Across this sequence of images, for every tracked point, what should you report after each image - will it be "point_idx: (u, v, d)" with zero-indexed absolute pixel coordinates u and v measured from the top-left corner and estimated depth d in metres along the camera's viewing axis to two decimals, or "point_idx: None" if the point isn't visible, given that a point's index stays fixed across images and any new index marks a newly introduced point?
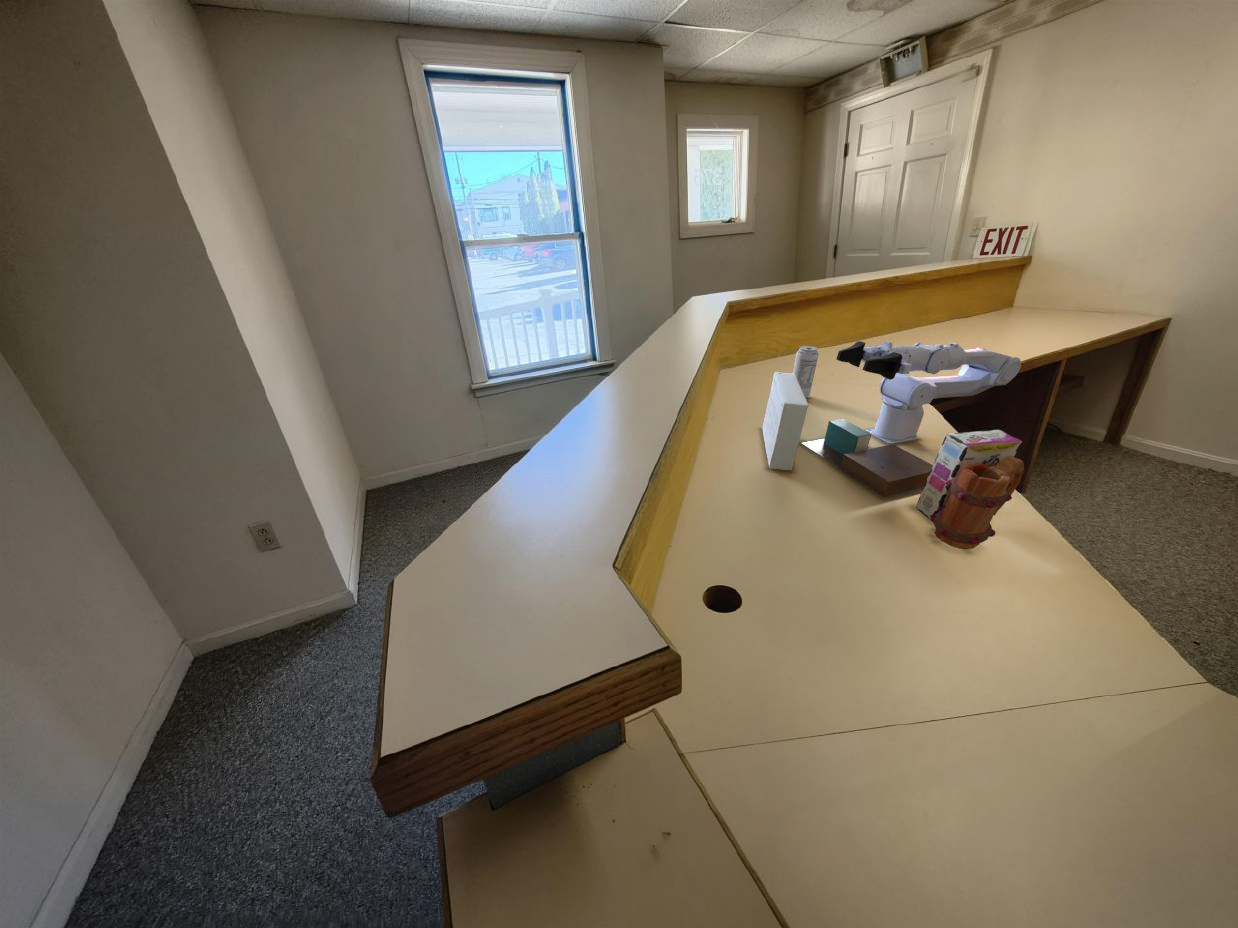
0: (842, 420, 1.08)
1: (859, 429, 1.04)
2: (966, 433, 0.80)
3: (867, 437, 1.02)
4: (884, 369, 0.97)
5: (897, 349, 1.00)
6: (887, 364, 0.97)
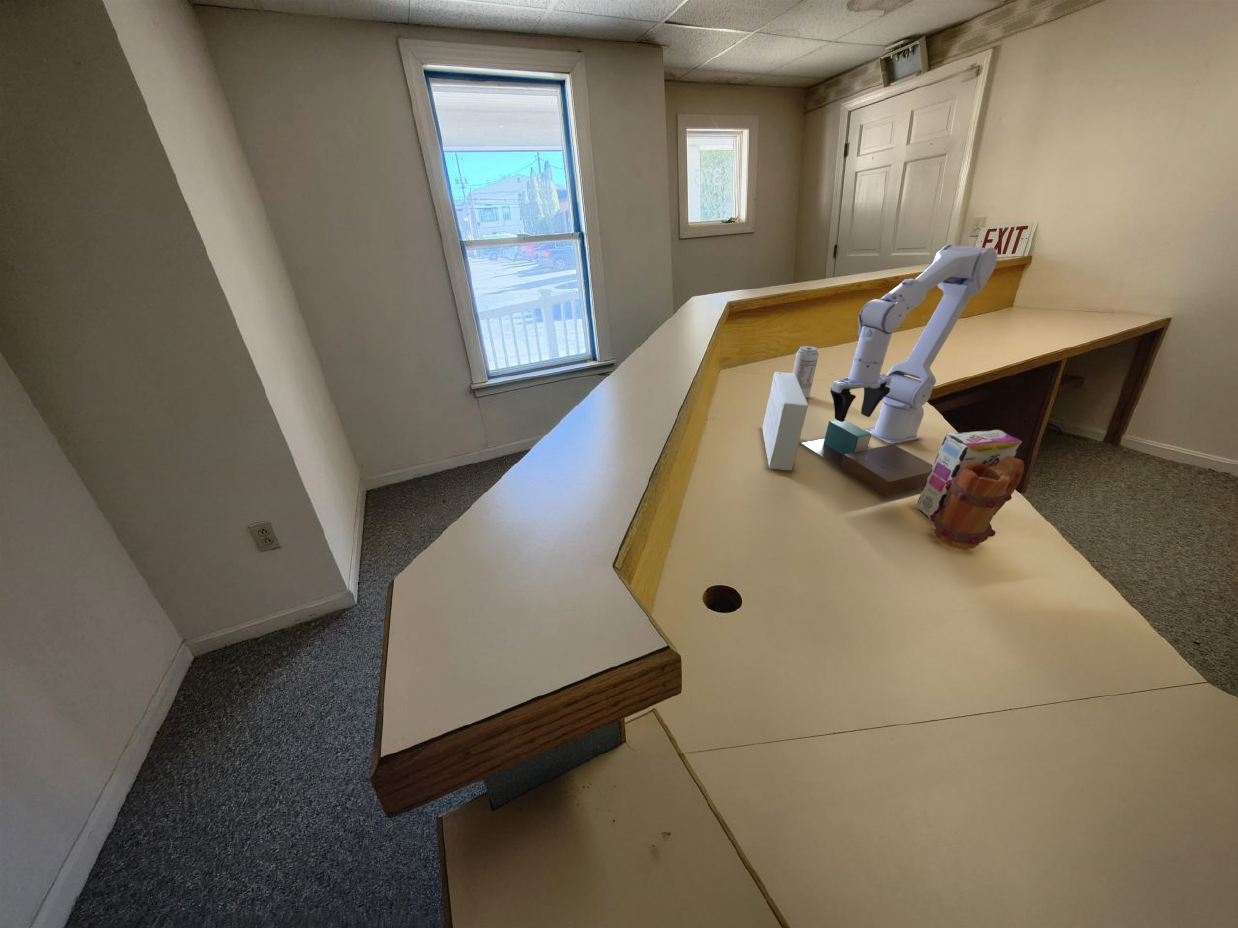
0: None
1: (859, 429, 1.04)
2: (966, 433, 0.80)
3: (867, 437, 1.02)
4: None
5: (879, 374, 0.96)
6: None
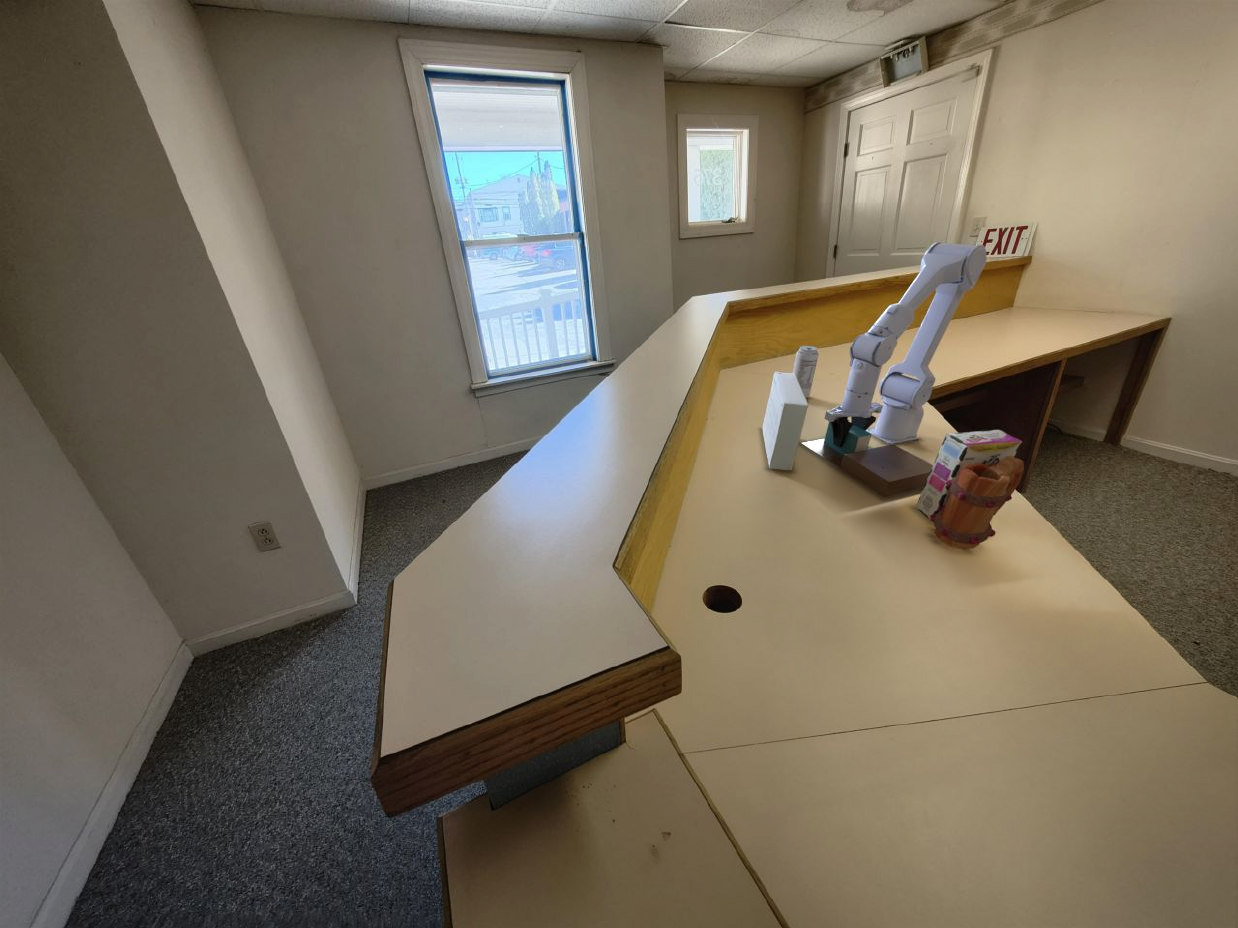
0: None
1: (859, 429, 1.04)
2: (966, 433, 0.80)
3: (867, 437, 1.02)
4: None
5: (870, 404, 1.00)
6: None
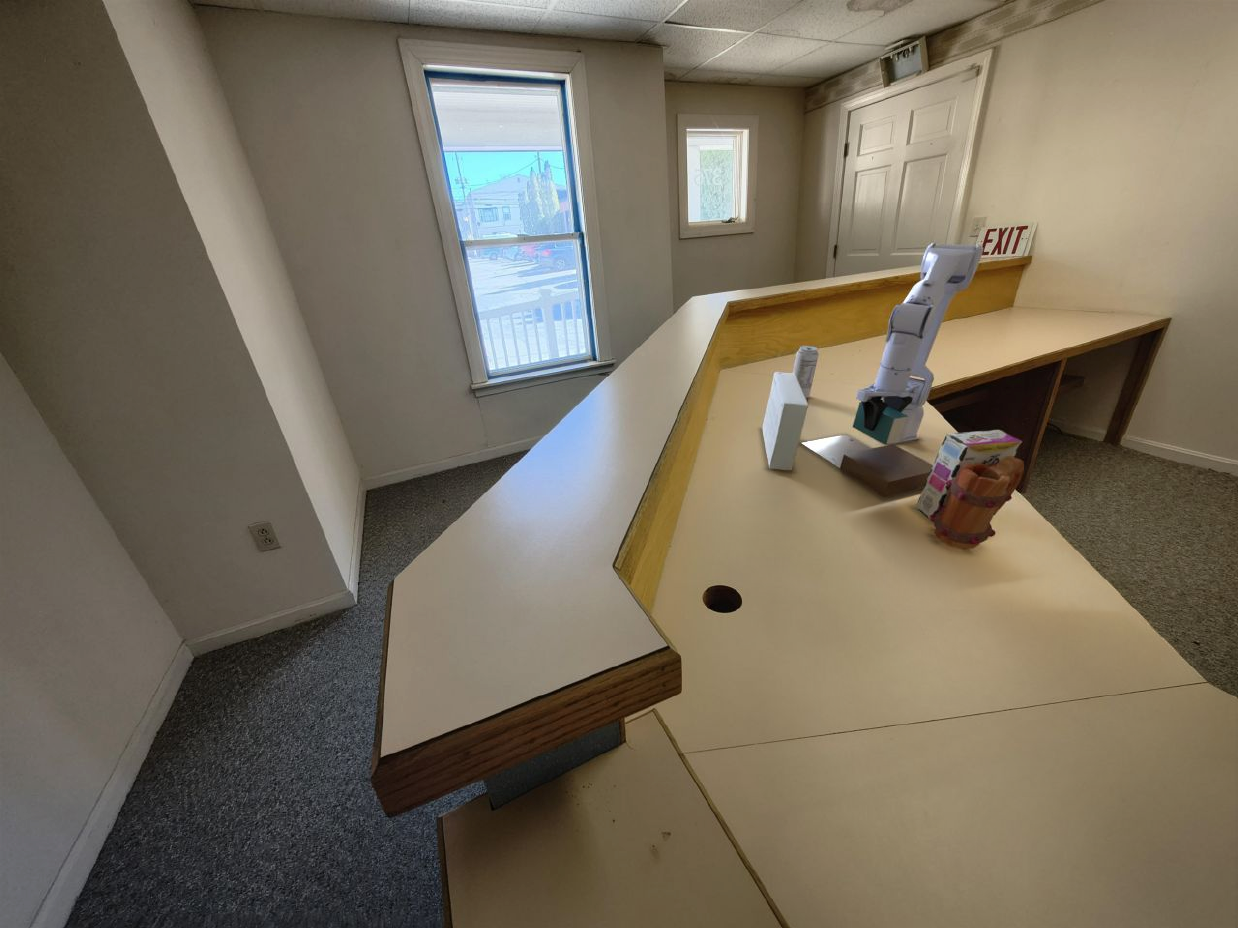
0: None
1: (894, 411, 0.94)
2: (966, 433, 0.80)
3: (903, 419, 0.92)
4: None
5: (907, 382, 0.90)
6: None
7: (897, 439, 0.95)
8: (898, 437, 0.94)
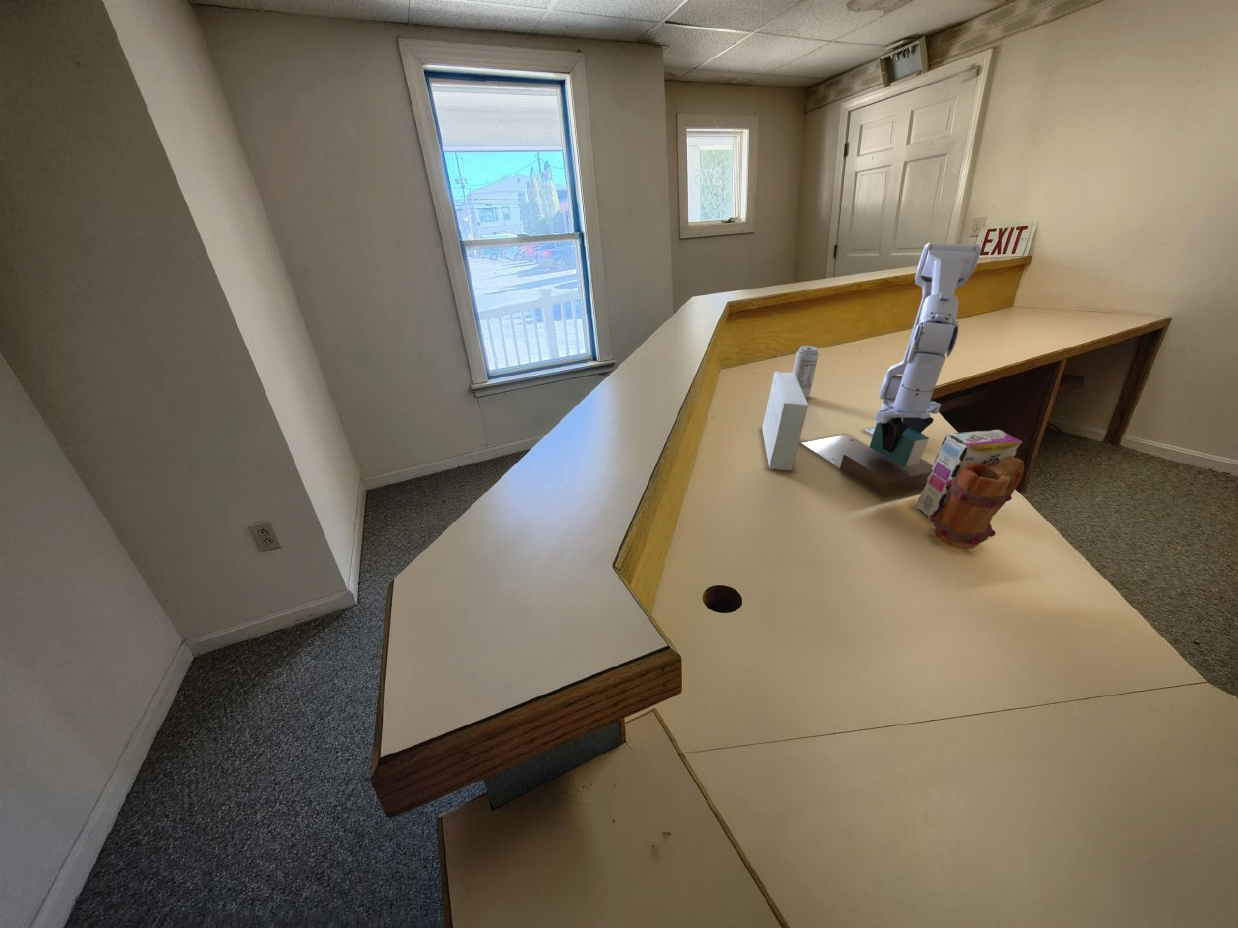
0: None
1: (914, 431, 0.91)
2: (966, 433, 0.80)
3: (924, 441, 0.89)
4: None
5: (928, 403, 0.87)
6: None
7: (917, 461, 0.91)
8: (918, 459, 0.91)
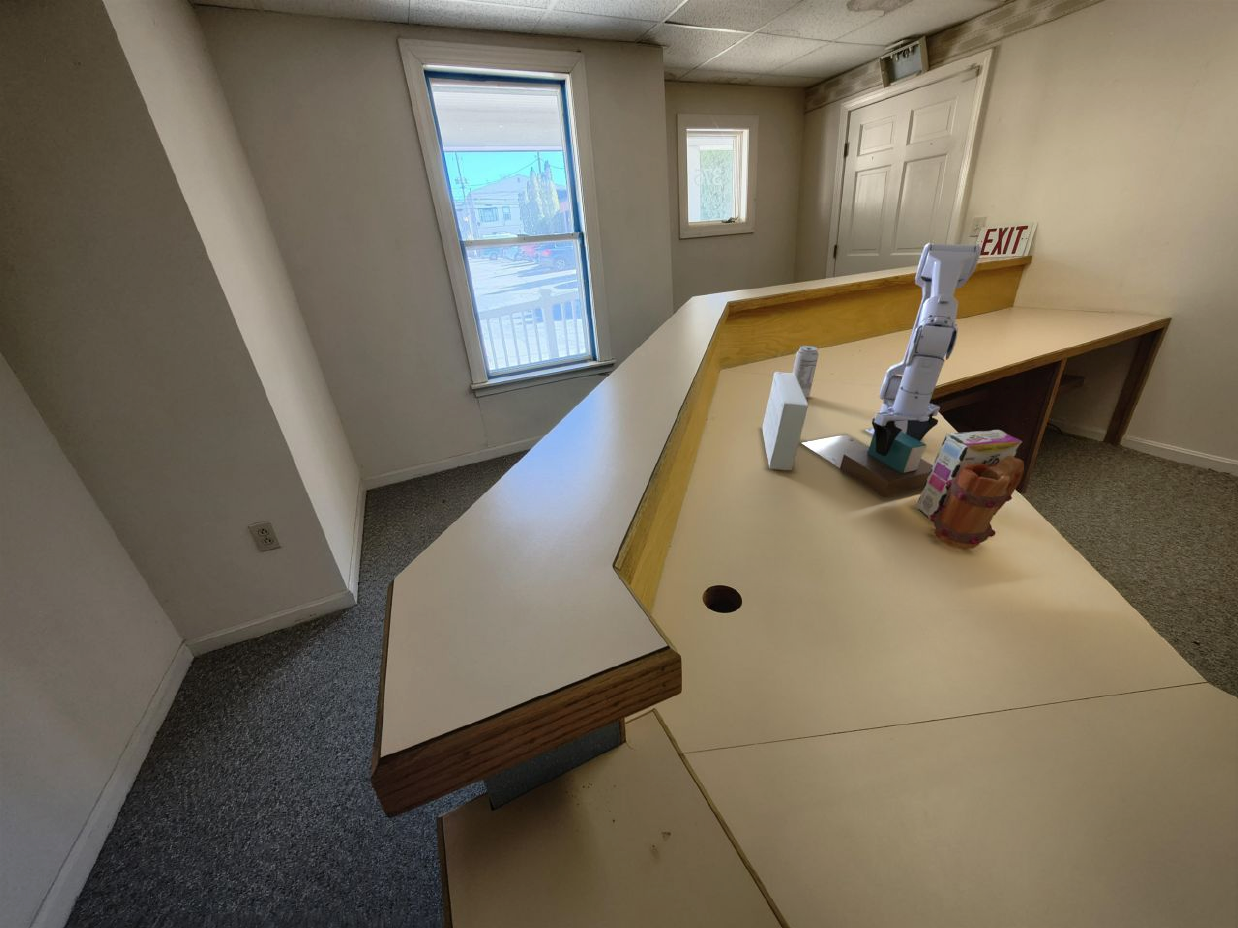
0: None
1: (911, 438, 0.92)
2: (966, 433, 0.80)
3: (921, 448, 0.90)
4: None
5: (927, 405, 0.87)
6: None
7: (915, 468, 0.92)
8: (916, 466, 0.92)
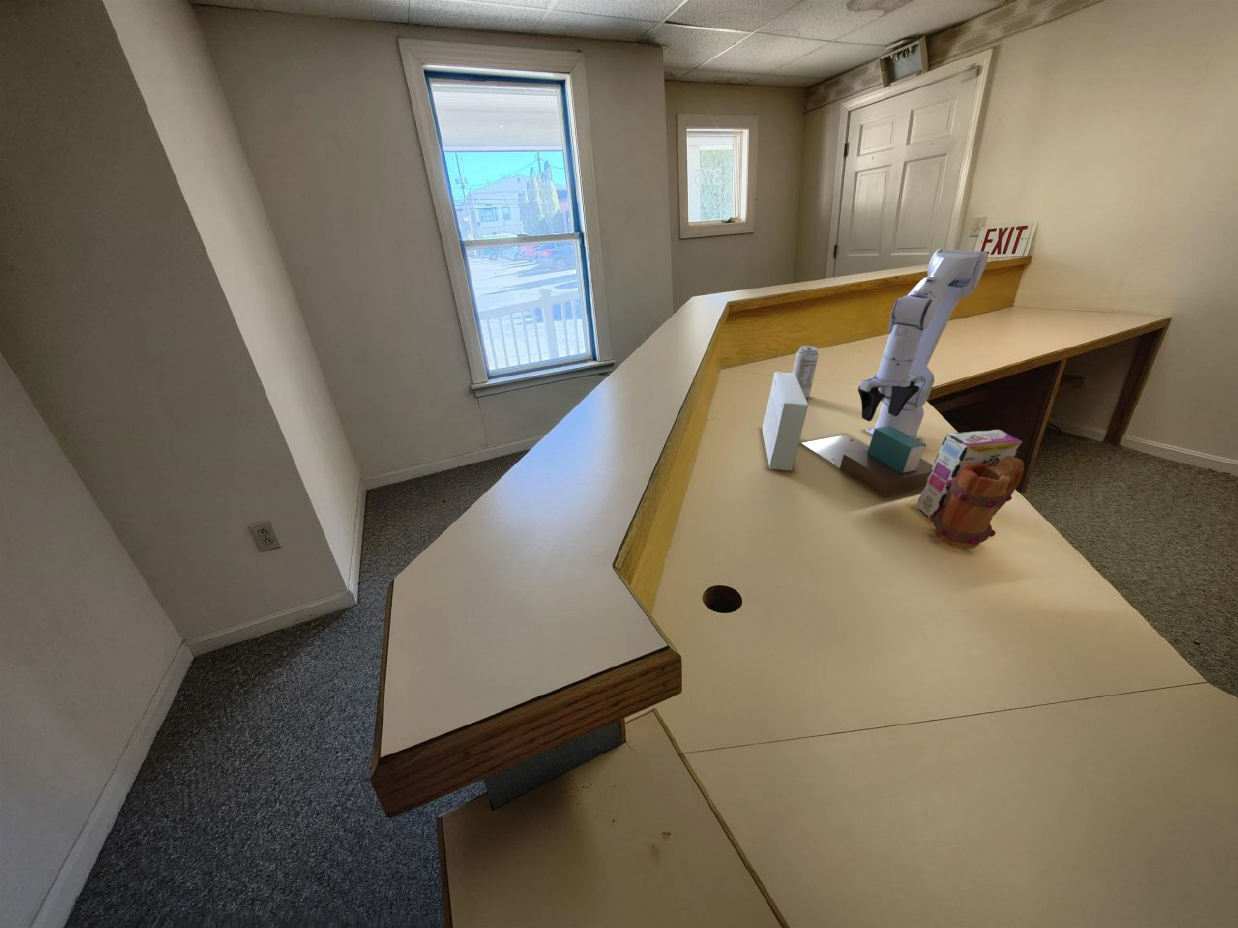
0: (890, 428, 0.96)
1: (911, 438, 0.92)
2: (966, 433, 0.80)
3: (921, 448, 0.90)
4: None
5: (909, 372, 0.94)
6: None
7: (914, 468, 0.92)
8: (915, 466, 0.92)
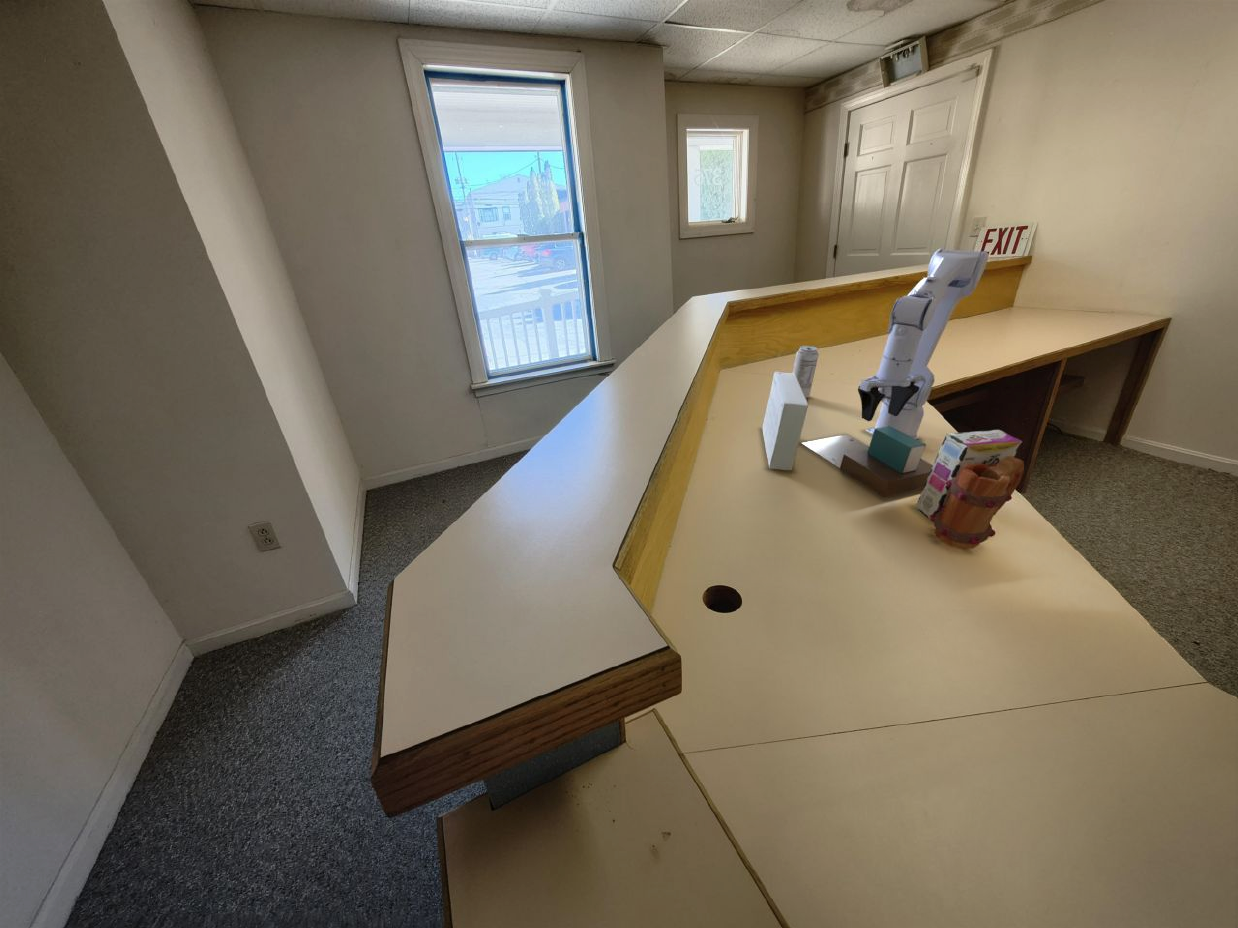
0: (890, 428, 0.96)
1: (911, 438, 0.92)
2: (966, 433, 0.80)
3: (921, 448, 0.90)
4: None
5: (909, 372, 0.94)
6: None
7: (914, 468, 0.92)
8: (915, 466, 0.92)
